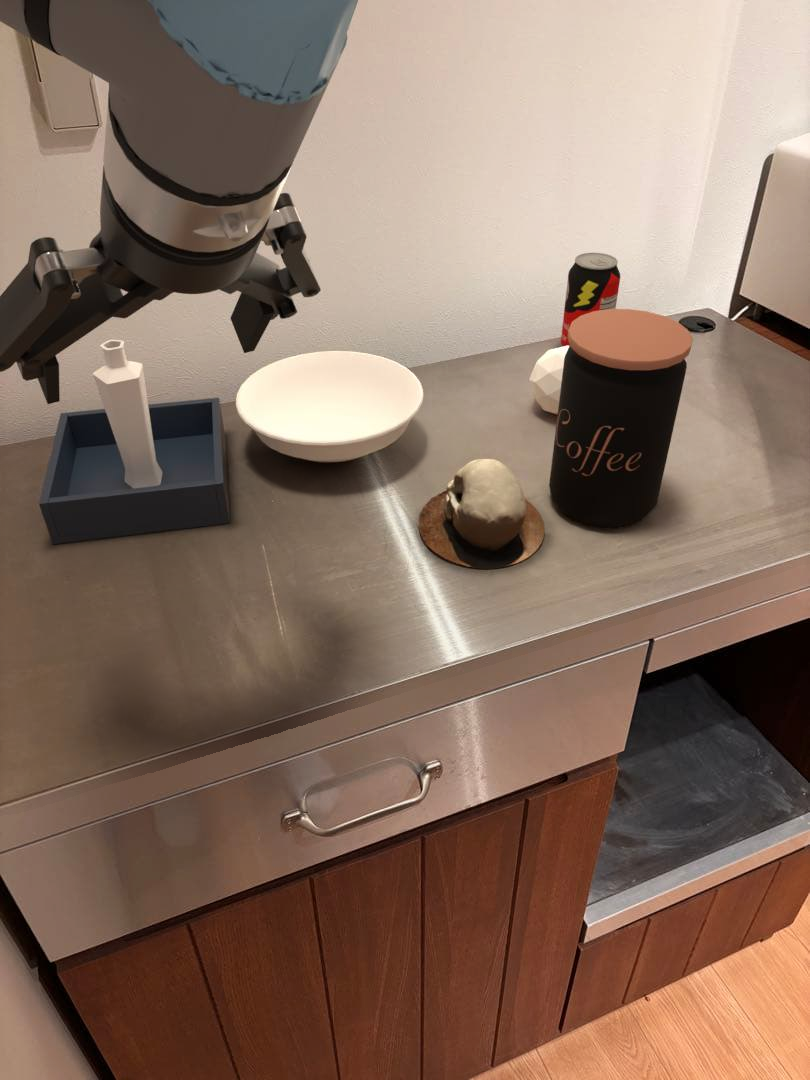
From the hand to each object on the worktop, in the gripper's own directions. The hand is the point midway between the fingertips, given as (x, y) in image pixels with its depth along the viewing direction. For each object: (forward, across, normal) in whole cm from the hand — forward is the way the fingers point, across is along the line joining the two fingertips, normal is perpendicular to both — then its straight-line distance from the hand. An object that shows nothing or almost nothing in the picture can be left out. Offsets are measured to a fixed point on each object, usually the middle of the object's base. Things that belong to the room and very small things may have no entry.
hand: (148, 358), depth 58 cm
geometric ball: (+25, +48, -10) cm, 55 cm away
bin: (+32, +2, -2) cm, 33 cm away
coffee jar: (+13, +40, -21) cm, 47 cm away
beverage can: (+32, +61, -2) cm, 69 cm away
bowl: (+30, +22, -4) cm, 38 cm away
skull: (+15, +27, -19) cm, 37 cm away
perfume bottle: (+32, +2, -1) cm, 32 cm away
